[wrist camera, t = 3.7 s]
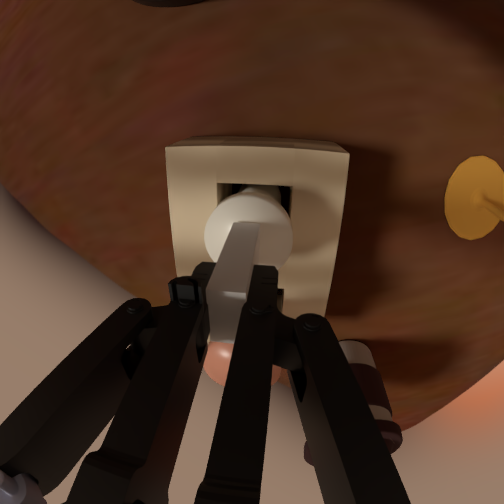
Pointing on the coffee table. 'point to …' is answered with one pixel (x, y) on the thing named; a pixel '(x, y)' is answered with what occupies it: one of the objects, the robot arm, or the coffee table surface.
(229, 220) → the ivory plug
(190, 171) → the beech block
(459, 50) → the coffee table surface
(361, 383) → the coffee cup
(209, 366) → the terracotta plug
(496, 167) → the cup
